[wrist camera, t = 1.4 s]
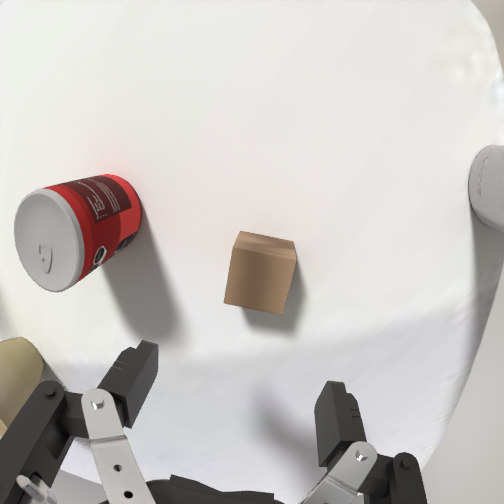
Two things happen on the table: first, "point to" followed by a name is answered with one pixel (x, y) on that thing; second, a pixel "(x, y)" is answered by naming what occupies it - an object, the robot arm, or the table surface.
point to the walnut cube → (260, 272)
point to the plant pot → (17, 377)
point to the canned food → (74, 228)
